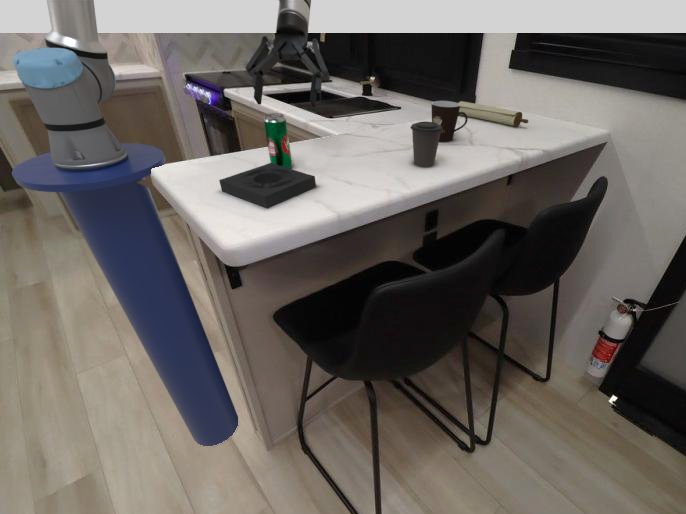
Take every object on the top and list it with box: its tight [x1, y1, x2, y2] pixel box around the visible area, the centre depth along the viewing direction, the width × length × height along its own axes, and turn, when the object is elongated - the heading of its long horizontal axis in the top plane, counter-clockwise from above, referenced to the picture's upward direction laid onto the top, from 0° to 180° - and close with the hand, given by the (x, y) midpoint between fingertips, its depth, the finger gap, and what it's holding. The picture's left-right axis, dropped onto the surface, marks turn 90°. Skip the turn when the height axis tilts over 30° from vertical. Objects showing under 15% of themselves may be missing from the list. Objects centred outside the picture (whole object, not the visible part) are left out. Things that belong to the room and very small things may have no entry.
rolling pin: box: [457, 100, 529, 128], centre depth 138 cm, size 32×6×5 cm, turn 49°
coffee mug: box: [430, 100, 468, 143], centre depth 114 cm, size 12×9×10 cm
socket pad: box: [218, 162, 317, 209], centre depth 82 cm, size 14×14×2 cm
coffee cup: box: [410, 121, 443, 168], centre depth 96 cm, size 8×8×10 cm
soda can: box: [262, 112, 293, 169], centre depth 89 cm, size 5×5×12 cm
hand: (284, 102), depth 92 cm, fingers open, 13 cm apart
